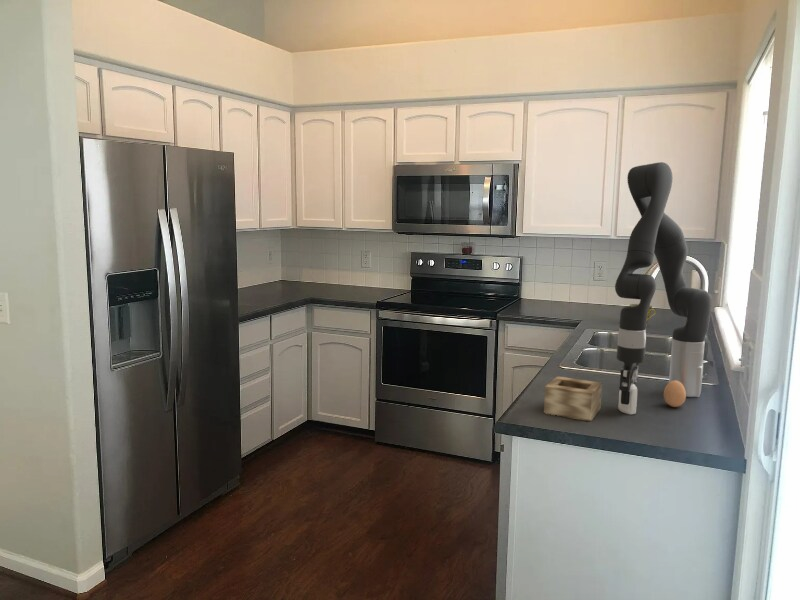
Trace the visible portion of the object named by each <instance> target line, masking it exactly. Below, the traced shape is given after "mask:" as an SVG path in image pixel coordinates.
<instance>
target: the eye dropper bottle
mask: <svg viewBox="0 0 800 600" xmlns="http://www.w3.org/2000/svg"><path fill="white" fill-rule="evenodd" d="M624 386H625V387H627V384H624ZM637 404H638V387H637V386H636V384H633V385H631V391H630V401H629V404H628V405H626V404H621V390H620V389H619V393H618V404H617V405H618V407H617V409H618V410H619V411H620V412H621V413H624V414H626V415H636V413H637Z"/></svg>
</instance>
